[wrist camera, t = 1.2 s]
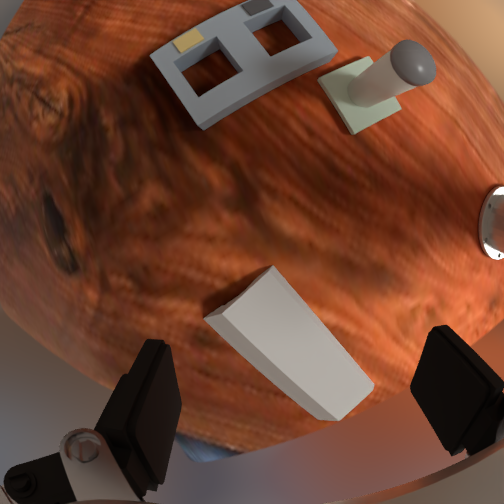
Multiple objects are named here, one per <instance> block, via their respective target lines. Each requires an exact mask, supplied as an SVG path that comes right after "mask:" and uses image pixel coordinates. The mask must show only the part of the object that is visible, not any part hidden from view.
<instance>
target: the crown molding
mask: <svg viewBox="0 0 504 504" xmlns="http://www.w3.org/2000/svg"><path fill="white" fill-rule="evenodd" d="M203 319H204V320H205V321H206V322H207V323H208V324H209V325H210V326H211V327H212V328H213V329H214V330H215V331H216V332H217V333H218V334H219V335H221V336H222V337H223V338H224V339H225V340H226V341H227V342H228V343H229V344H230V345H231V346H232V347H233V348H234V349H235V350H237V351H238V352H239V353H240V354H241V355H242V356H243V357H244V358H245V359H246V360H248V361H249V362H250V363H251V364H252V365H253V366H254V367H255V368H256V369H258V370H259V371H260V372H261V373H262V374H263V375H264V376H266V377H267V378H268V379H269V380H270V381H271V382H273V383H274V384H275V385H276V386H277V387H278V388H280V389H281V390H282V391H283V392H284V393H286V394H287V395H288V396H289V397H290V398H292V399H293V400H294V401H295V402H296V403H298V404H299V405H300V406H301V407H303V408H304V409H305V410H306V411H308V412H309V413H310V414H311V415H313V416H314V417H315V418H317V419H319V420H332V421H340V420H341V419H342V418H343V417H344V416H345V415H346V414H348V413H349V412H350V411H351V410H352V409H353V408H354V407H355V406H357V405H358V404H359V403H360V402H361V401H362V400H363V399H364V398H365V397H366V396H367V395H368V394H369V393H370V392H371V391H372V390H373V388H374V383H373V382H372V381H371V380H370V379H369V377H368V376H367V375H366V374H365V373H364V371H363V370H362V369H361V368H360V367H359V366H358V364H357V363H356V362H355V361H354V360H353V358H352V357H351V356H350V355H349V354H348V353H347V351H346V350H345V349H344V348H343V347H342V345H341V344H340V343H339V342H338V341H337V340H336V338H335V337H334V336H333V335H332V334H331V332H330V331H329V330H328V329H327V328H326V327H325V325H324V324H323V323H322V322H321V321H320V320H319V318H318V317H317V316H316V315H315V314H314V312H313V311H312V310H311V309H310V308H309V307H308V305H307V304H306V303H305V302H304V301H303V300H302V298H301V297H300V296H299V295H298V294H297V293H296V291H295V290H294V289H293V288H292V287H291V286H290V284H289V283H288V282H287V281H286V280H285V279H284V277H283V276H282V275H281V274H280V273H279V272H278V270H277V269H276V268H275V267H274V266H273V265H272V266H271V267H270V268H268V269H267V270H266V271H265V272H263V273H262V274H261V275H259V276H258V277H257V278H256V279H255V280H254V281H253V282H252V283H251V284H250V285H249V286H248V287H247V288H246V289H245V290H244V291H243V292H242V293H241V294H240V295H238V296H237V297H236V298H235V299H233V300H231V301H230V302H228V303H227V304H226V305H221V306H220V307H219V308H217V309H216V310H215V311H214V312H211V313H210V314H208V315H207V316H206V317H205V318H203Z"/></svg>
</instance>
